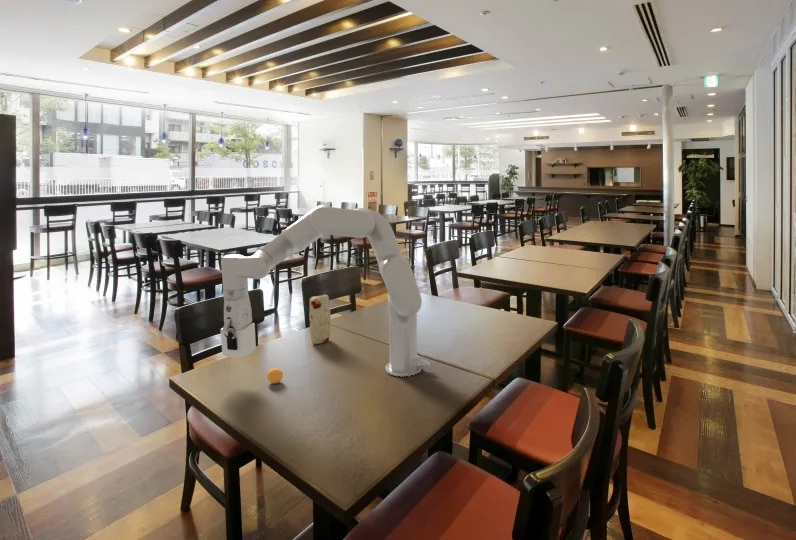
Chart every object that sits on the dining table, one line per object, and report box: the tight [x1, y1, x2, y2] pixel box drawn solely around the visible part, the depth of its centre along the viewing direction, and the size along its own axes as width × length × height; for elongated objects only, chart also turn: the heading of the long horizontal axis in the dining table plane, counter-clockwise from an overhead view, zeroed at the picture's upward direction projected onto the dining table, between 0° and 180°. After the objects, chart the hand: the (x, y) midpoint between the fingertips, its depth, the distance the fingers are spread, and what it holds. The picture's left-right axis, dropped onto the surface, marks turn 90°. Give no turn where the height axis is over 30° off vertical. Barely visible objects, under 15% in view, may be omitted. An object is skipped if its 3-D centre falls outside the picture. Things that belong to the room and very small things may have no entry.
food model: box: [308, 294, 332, 345], centre depth 186 cm, size 10×7×20 cm
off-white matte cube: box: [220, 322, 257, 358], centre depth 150 cm, size 8×8×9 cm
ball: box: [266, 367, 284, 384], centre depth 150 cm, size 5×5×5 cm
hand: (239, 344), depth 150 cm, fingers closed on off-white matte cube, 7 cm apart
